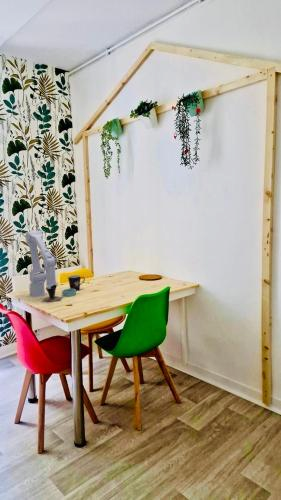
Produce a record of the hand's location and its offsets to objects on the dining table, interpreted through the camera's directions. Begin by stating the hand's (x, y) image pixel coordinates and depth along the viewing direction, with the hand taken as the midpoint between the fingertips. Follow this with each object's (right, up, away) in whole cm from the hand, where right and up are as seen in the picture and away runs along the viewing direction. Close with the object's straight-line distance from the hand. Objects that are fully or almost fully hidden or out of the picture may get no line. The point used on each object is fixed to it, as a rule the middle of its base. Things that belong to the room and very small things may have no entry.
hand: (52, 297), depth 215 cm
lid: (0, -2, 0) cm, 2 cm away
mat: (0, -2, 0) cm, 2 cm away
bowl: (+9, 0, +10) cm, 14 cm away
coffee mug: (+11, +1, +25) cm, 28 cm away
